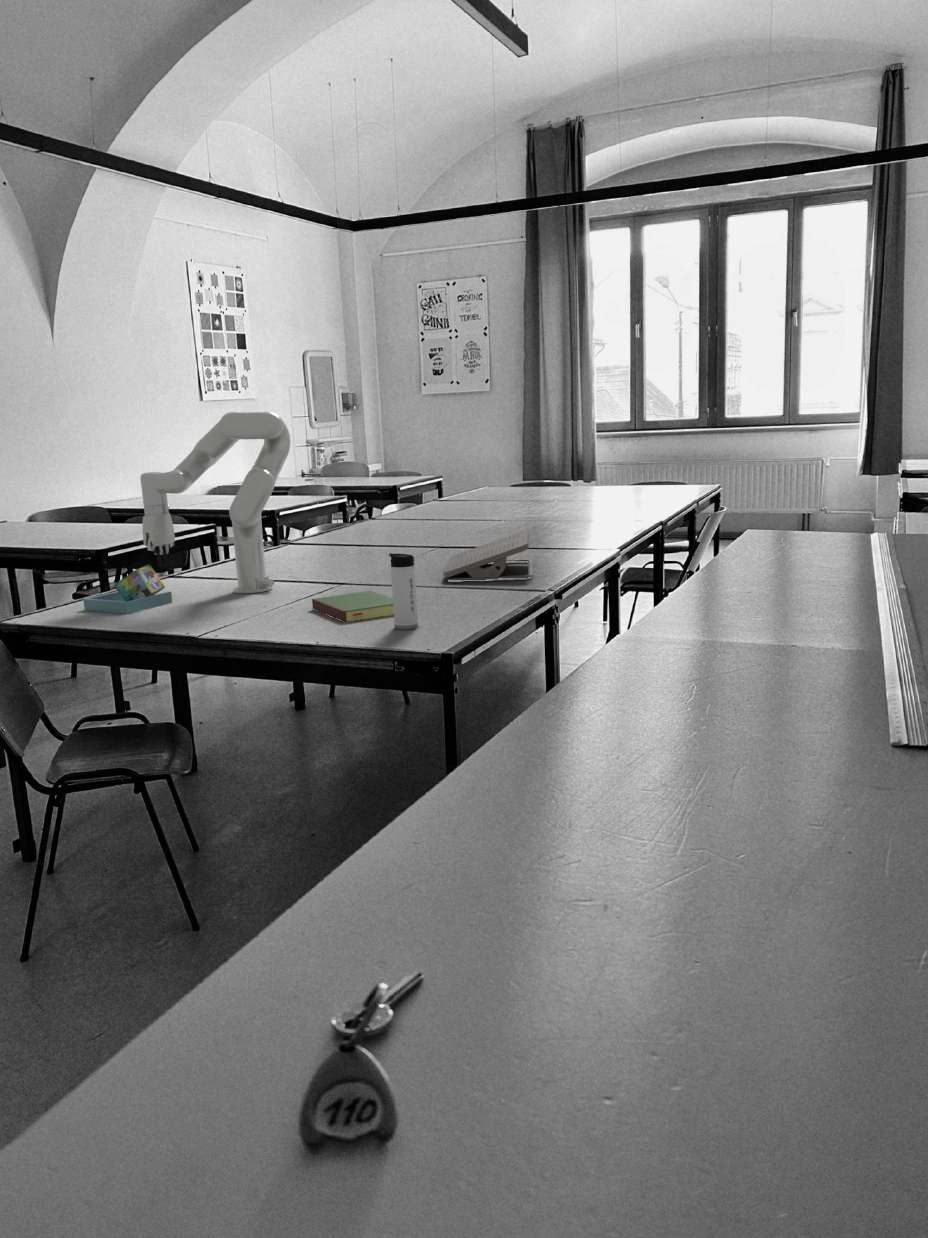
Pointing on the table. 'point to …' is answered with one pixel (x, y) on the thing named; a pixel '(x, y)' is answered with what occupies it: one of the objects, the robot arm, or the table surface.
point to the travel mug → (404, 591)
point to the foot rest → (489, 559)
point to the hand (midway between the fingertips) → (163, 566)
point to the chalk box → (139, 584)
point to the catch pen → (119, 605)
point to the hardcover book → (355, 606)
